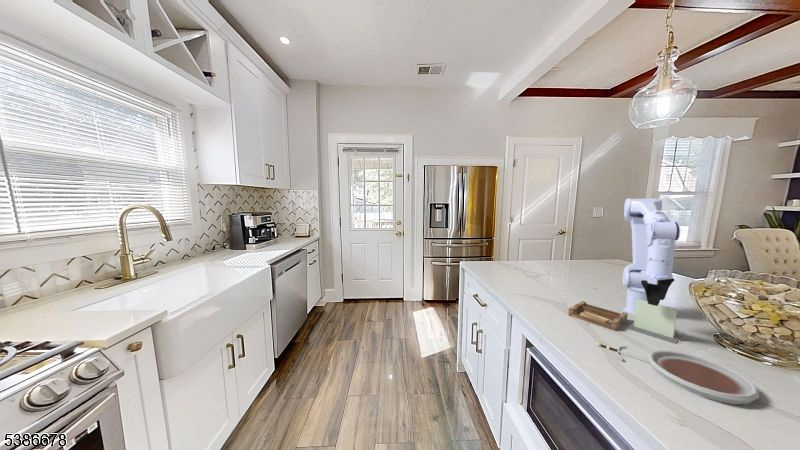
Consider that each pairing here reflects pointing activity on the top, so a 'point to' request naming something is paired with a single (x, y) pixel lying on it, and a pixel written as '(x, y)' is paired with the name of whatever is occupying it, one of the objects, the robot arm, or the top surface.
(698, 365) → the frying pan
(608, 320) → the offcut top
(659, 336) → the mat
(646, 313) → the board
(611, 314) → the rack
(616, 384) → the top surface
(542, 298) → the top surface
